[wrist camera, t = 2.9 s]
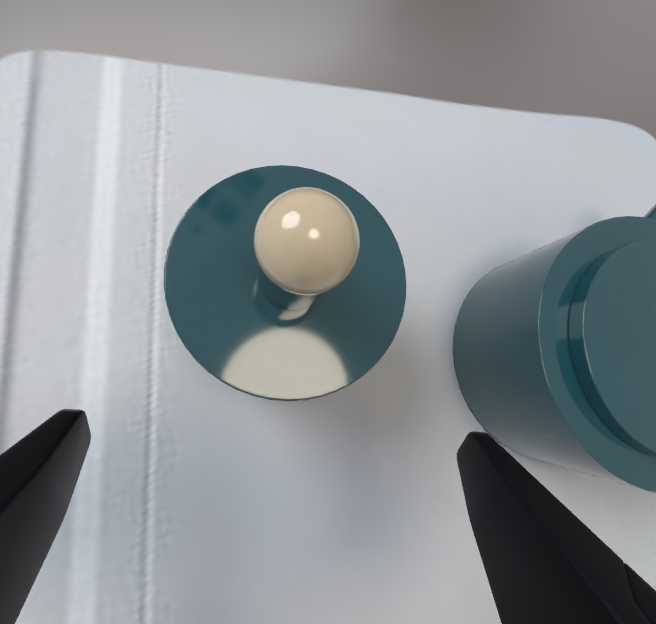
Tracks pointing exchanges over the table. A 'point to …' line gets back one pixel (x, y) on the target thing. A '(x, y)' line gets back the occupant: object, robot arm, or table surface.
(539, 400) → the teapot
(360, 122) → the table surface
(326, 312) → the teapot lid
